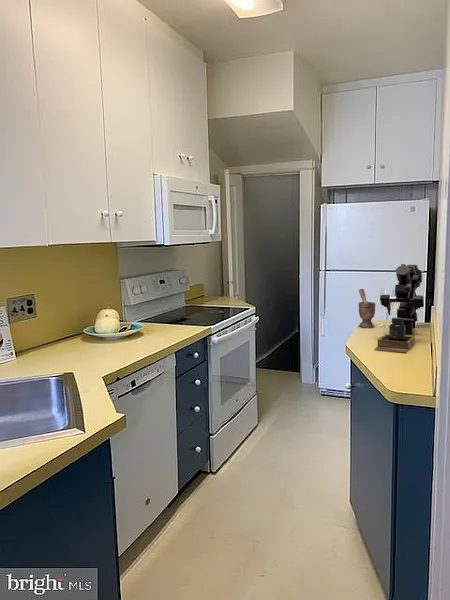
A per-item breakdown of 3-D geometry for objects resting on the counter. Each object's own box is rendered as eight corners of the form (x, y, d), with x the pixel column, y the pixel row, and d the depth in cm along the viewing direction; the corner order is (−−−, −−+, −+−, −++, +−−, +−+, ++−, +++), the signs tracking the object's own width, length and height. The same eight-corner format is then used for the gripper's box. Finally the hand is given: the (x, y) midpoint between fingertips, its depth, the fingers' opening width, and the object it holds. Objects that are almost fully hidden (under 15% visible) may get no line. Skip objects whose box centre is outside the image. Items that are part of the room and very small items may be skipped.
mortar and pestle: (350, 325, 262) (351, 289, 259) (362, 323, 266) (362, 288, 264) (367, 329, 252) (367, 291, 250) (378, 326, 257) (379, 289, 254)
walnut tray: (385, 341, 222) (385, 334, 222) (414, 344, 216) (414, 336, 215) (374, 350, 207) (374, 342, 207) (405, 353, 200) (406, 345, 200)
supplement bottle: (408, 345, 211) (409, 318, 209) (394, 347, 209) (395, 320, 208) (398, 342, 218) (399, 316, 216) (385, 343, 216) (386, 317, 214)
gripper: (380, 277, 225) (375, 304, 217) (423, 277, 216) (419, 305, 208) (384, 292, 233) (379, 318, 225) (425, 292, 224) (422, 320, 216)
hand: (399, 315), depth 218 cm, fingers open, 9 cm apart
